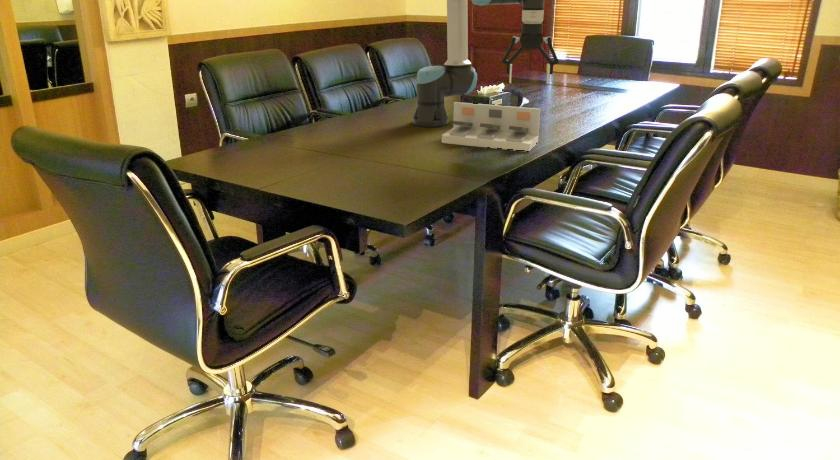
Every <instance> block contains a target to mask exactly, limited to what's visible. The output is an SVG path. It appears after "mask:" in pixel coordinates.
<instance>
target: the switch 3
mask: <svg viewBox="0 0 840 460" xmlns="http://www.w3.org/2000/svg"><path fill="white" fill-rule="evenodd" d="M509 129H510V130H516V131H527V132H528V128H524V127H521V126H509Z"/></svg>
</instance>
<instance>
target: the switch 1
mask: <svg viewBox="0 0 840 460" xmlns="http://www.w3.org/2000/svg"><path fill="white" fill-rule="evenodd" d="M453 124H454V125H461V126H472V125H473V123H468V122H465V121H454V120H452V121H451V125H453Z"/></svg>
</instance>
